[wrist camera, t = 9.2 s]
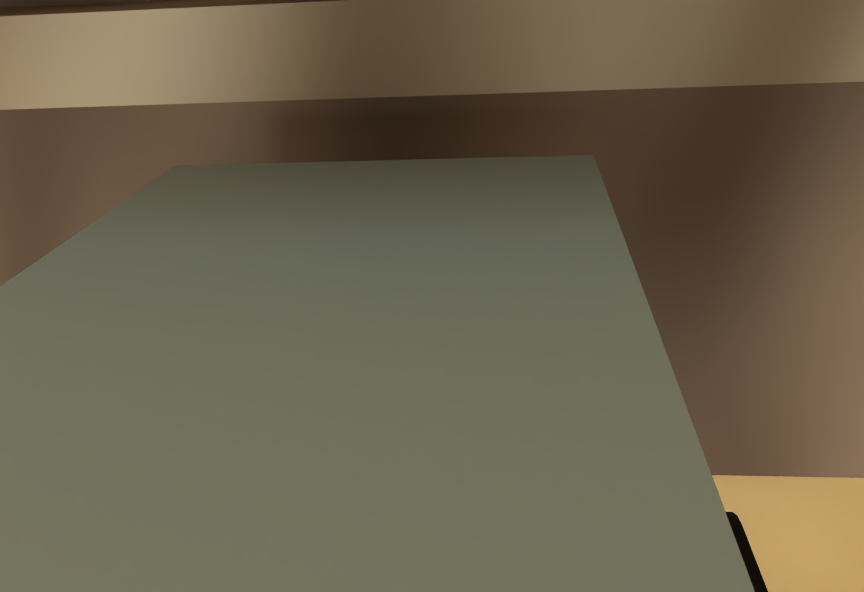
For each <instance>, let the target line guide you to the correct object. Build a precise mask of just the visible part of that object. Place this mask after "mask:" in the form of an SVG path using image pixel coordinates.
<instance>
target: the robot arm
mask: <svg viewBox="0 0 864 592" xmlns="http://www.w3.org/2000/svg"><path fill="white" fill-rule="evenodd" d="M726 515H727V518H728V520H729V523H730V526H731V529H732V531H733V534H734V537H735V539H736V542H737V545H738V548H739V550H740V553H741V556H742V558H743V561H744V564H745V566H746V569H747V572H748V575H749V577H750V580H751V583H752V585H753V588H754V591H755V592H768V591H767V588H766V586H765V583H764V580H763V578H762V575H761V573H760V570H759V568H758V565H757V562H756V560H755V557H754V555H753V552H752V550H751V547H750V544H749V542H748V539H747V537H746V534H745V532H744V529H743V526H742V524H741V522H740V520H739V518H738V516H737V515H736V514H734V513H733V512H726Z"/></svg>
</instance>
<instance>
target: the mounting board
mask: <svg viewBox="0 0 864 592" xmlns="http://www.w3.org/2000/svg"><path fill="white" fill-rule="evenodd" d="M568 155H594V158H595V161H596V163H597V166H598V169H599V171H600V174H601V177H602V180H603V182H604V185H605V188H606V190H607V193H608V196H609V198H610V201H611V204H612V207H613V209H614V212H615V215H616V217H617V220H618V223H619V226H620V228H621V231H622V234H623V236H624V239H625V242H626V244H627V247H628V250H629V253H630V255H631V258H632V261H633V263H634V266H635V269H636V272H637V274H638V277H639V280H640V282H641V285H642V288H643V290H644V293H645V296H646V299H647V301H648V304H649V307H650V309H651V312H652V315H653V318H654V320H655V323H656V326H657V328H658V331H659V334H660V336H661V339H662V342H663V345H664V347H665V350H666V353H667V355H668V358H669V361H670V364H671V366H672V369H673V372H674V374H675V377H676V380H677V382H678V385H679V388H680V391H681V393H682V396H683V399H684V401H685V404H686V407H687V410H688V412H689V415H690V418H691V420H692V423H693V426H694V428H695V431H696V434H697V437H698V439H699V442H700V445H701V447H702V450H703V453H704V456H705V458H706V461H707V464H708V466H709V469H710V472H711V474H712V475H743V476H796V477H850V478H864V0H0V286H1V285H3V284H4V283H6V282H7V281H9V280H10V279H12V278H13V277H14V276H16V275H17V274H19V273H20V272H22V271H23V270H25V269H26V268H28V267H29V266H30V265H32V264H33V263H35V262H36V261H38V260H39V259H41V258H42V257H43V256H45V255H46V254H48V253H49V252H51V251H52V250H54V249H55V248H56V247H58V246H59V245H61V244H62V243H64V242H65V241H67V240H68V239H69V238H71V237H72V236H74V235H75V234H77V233H78V232H80V231H81V230H82V229H84V228H85V227H87V226H88V225H90V224H91V223H93V222H94V221H96V220H97V219H98V218H100V217H101V216H103V215H104V214H106V213H107V212H109V211H110V210H111V209H113V208H114V207H116V206H117V205H119V204H120V203H122V202H123V201H124V200H126V199H127V198H129V197H130V196H132V195H133V194H135V193H136V192H137V191H139V190H140V189H142V188H143V187H145V186H146V185H148V184H149V183H150V182H152V181H153V180H155V179H156V178H158V177H159V176H161V175H162V174H164V173H165V172H166V171H168V170H169V169H171V168H172V167H174V166H181V165H219V164H258V163H297V162H336V161H374V160H413V159H452V158H491V157H529V156H568Z"/></svg>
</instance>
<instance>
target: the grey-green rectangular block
mask: <svg viewBox="0 0 864 592" xmlns="http://www.w3.org/2000/svg"><path fill="white" fill-rule="evenodd" d="M0 592H755V591H754V588H753V585H752V583H751V580H750V577H749V575H748V572H747V569H746V566H745V564H744V561H743V558H742V556H741V553H740V550H739V548H738V545H737V542H736V539H735V537H734V534H733V531H732V529H731V526H730V523H729V520H728V518H727V515H726V512H725V510H724V507H723V504H722V502H721V499H720V496H719V493H718V491H717V488H716V485H715V483H714V480H713V477H712V474H711V472H710V469H709V466H708V464H707V461H706V458H705V456H704V453H703V450H702V447H701V445H700V442H699V439H698V437H697V434H696V431H695V428H694V426H693V423H692V420H691V418H690V415H689V412H688V410H687V407H686V404H685V401H684V399H683V396H682V393H681V391H680V388H679V385H678V382H677V380H676V377H675V374H674V372H673V369H672V366H671V364H670V361H669V358H668V355H667V353H666V350H665V347H664V345H663V342H662V339H661V336H660V334H659V331H658V328H657V326H656V323H655V320H654V318H653V315H652V312H651V309H650V307H649V304H648V301H647V299H646V296H645V293H644V290H643V288H642V285H641V282H640V280H639V277H638V274H637V272H636V269H635V266H634V263H633V261H632V258H631V255H630V253H629V250H628V247H627V244H626V242H625V239H624V236H623V234H622V231H621V228H620V226H619V223H618V220H617V217H616V215H615V212H614V209H613V207H612V204H611V201H610V198H609V196H608V193H607V190H606V188H605V185H604V182H603V180H602V177H601V174H600V171H599V169H598V166H597V163H596V161H595V158H594V155H568V156H529V157H491V158H452V159H413V160H374V161H336V162H297V163H258V164H219V165H181V166H174V167H172V168H171V169H169V170H168V171H166V172H165V173H164V174H162V175H161V176H159V177H158V178H156V179H155V180H153V181H152V182H150V183H149V184H148V185H146V186H145V187H143V188H142V189H140V190H139V191H137V192H136V193H135V194H133V195H132V196H130V197H129V198H127V199H126V200H124V201H123V202H122V203H120V204H119V205H117V206H116V207H114V208H113V209H111V210H110V211H109V212H107V213H106V214H104V215H103V216H101V217H100V218H98V219H97V220H96V221H94V222H93V223H91V224H90V225H88V226H87V227H85V228H84V229H82V230H81V231H80V232H78V233H77V234H75V235H74V236H72V237H71V238H69V239H68V240H67V241H65V242H64V243H62V244H61V245H59V246H58V247H56V248H55V249H54V250H52V251H51V252H49V253H48V254H46V255H45V256H43V257H42V258H41V259H39V260H38V261H36V262H35V263H33V264H32V265H30V266H29V267H28V268H26V269H25V270H23V271H22V272H20V273H19V274H17V275H16V276H14V277H13V278H12V279H10V280H9V281H7V282H6V283H4V284H3V285H1V286H0Z"/></svg>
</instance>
